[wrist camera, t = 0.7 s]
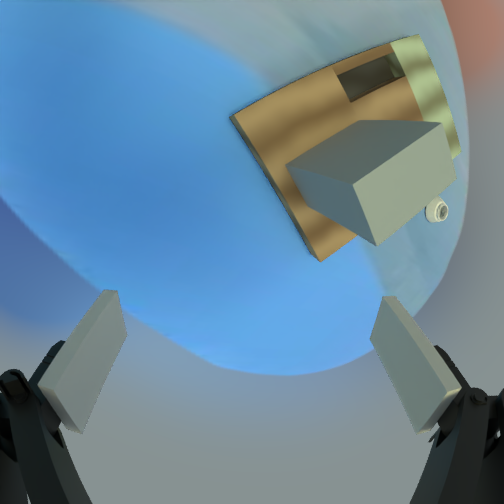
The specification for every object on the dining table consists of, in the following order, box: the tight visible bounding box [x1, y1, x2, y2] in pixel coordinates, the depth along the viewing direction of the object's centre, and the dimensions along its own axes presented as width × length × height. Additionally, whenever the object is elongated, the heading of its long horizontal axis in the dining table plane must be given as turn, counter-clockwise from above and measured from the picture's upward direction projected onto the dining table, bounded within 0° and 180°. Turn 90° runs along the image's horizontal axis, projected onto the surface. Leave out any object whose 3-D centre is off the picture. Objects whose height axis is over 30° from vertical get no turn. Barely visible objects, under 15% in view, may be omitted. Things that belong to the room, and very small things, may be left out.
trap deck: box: [229, 34, 461, 262], centre depth 35 cm, size 22×34×3 cm, turn 122°
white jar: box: [425, 196, 448, 222], centre depth 43 cm, size 5×3×5 cm
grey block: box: [285, 120, 457, 246], centre depth 27 cm, size 6×12×14 cm, turn 122°
